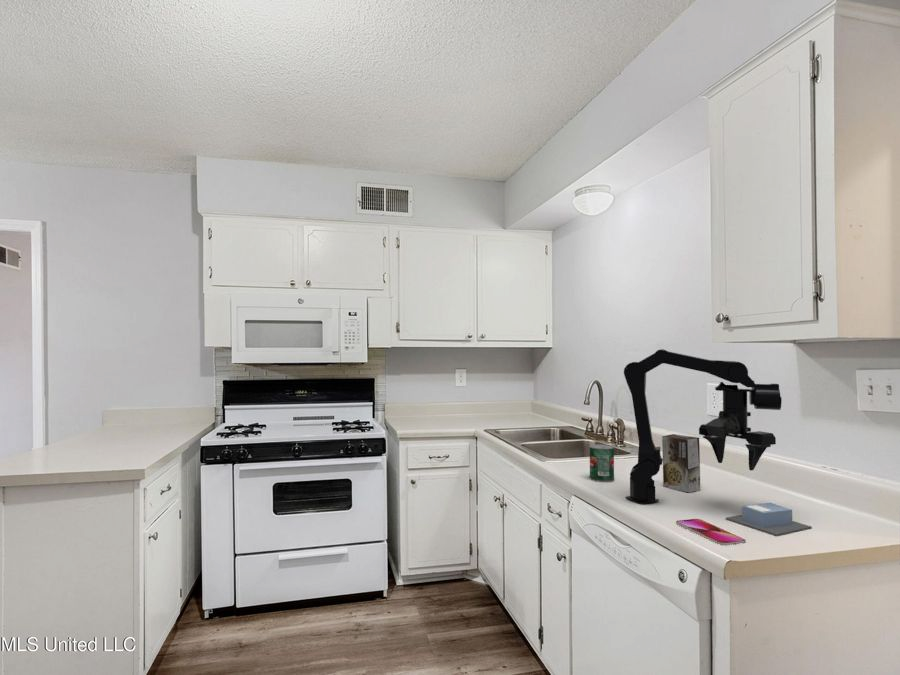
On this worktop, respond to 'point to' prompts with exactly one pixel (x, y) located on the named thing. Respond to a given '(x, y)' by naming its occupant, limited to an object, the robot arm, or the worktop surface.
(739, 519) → the mat
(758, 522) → the card box
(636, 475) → the robot arm
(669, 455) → the coffee box
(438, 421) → the worktop surface
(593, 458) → the canned tomato
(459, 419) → the worktop surface
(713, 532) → the smartphone
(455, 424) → the worktop surface
